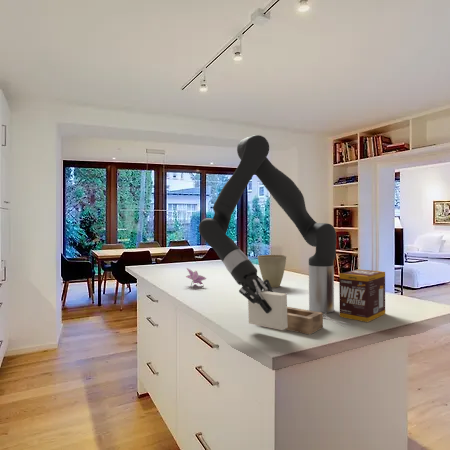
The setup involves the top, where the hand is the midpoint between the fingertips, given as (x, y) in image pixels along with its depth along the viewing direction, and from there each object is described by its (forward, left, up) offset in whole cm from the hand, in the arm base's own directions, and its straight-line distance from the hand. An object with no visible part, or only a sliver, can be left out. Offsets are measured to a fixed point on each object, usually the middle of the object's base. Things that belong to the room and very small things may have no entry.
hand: (272, 310), depth 108 cm
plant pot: (-79, +17, -8) cm, 81 cm away
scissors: (-16, +23, -8) cm, 29 cm away
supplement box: (-19, +37, -8) cm, 42 cm away
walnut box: (-10, +7, -8) cm, 15 cm away
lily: (-84, -23, -8) cm, 88 cm away
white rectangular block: (-1, -1, -5) cm, 5 cm away
